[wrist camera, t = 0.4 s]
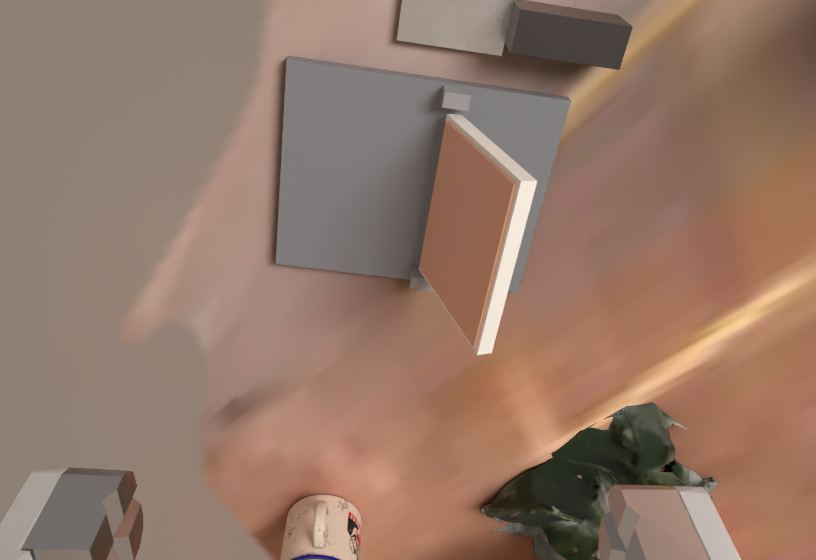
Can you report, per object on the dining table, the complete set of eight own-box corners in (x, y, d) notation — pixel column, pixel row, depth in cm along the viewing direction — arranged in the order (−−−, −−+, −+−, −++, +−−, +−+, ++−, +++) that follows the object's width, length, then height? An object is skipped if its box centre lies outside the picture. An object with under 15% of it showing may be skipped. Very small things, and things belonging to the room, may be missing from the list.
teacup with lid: (362, 544, 83) (357, 637, 73) (286, 541, 83) (271, 635, 73) (365, 474, 77) (360, 567, 67) (283, 471, 77) (266, 563, 67)
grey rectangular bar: (621, 0, 51) (637, 11, 47) (601, 68, 53) (615, 83, 50) (406, -34, 49) (406, -25, 46) (396, 37, 52) (396, 50, 49)
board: (288, 56, 53) (283, 65, 50) (568, 96, 54) (575, 108, 52) (277, 258, 62) (272, 274, 60) (516, 287, 64) (520, 303, 62)
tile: (537, 180, 44) (518, 181, 43) (491, 353, 51) (474, 355, 51) (461, 114, 53) (444, 113, 53) (431, 268, 61) (416, 269, 60)
